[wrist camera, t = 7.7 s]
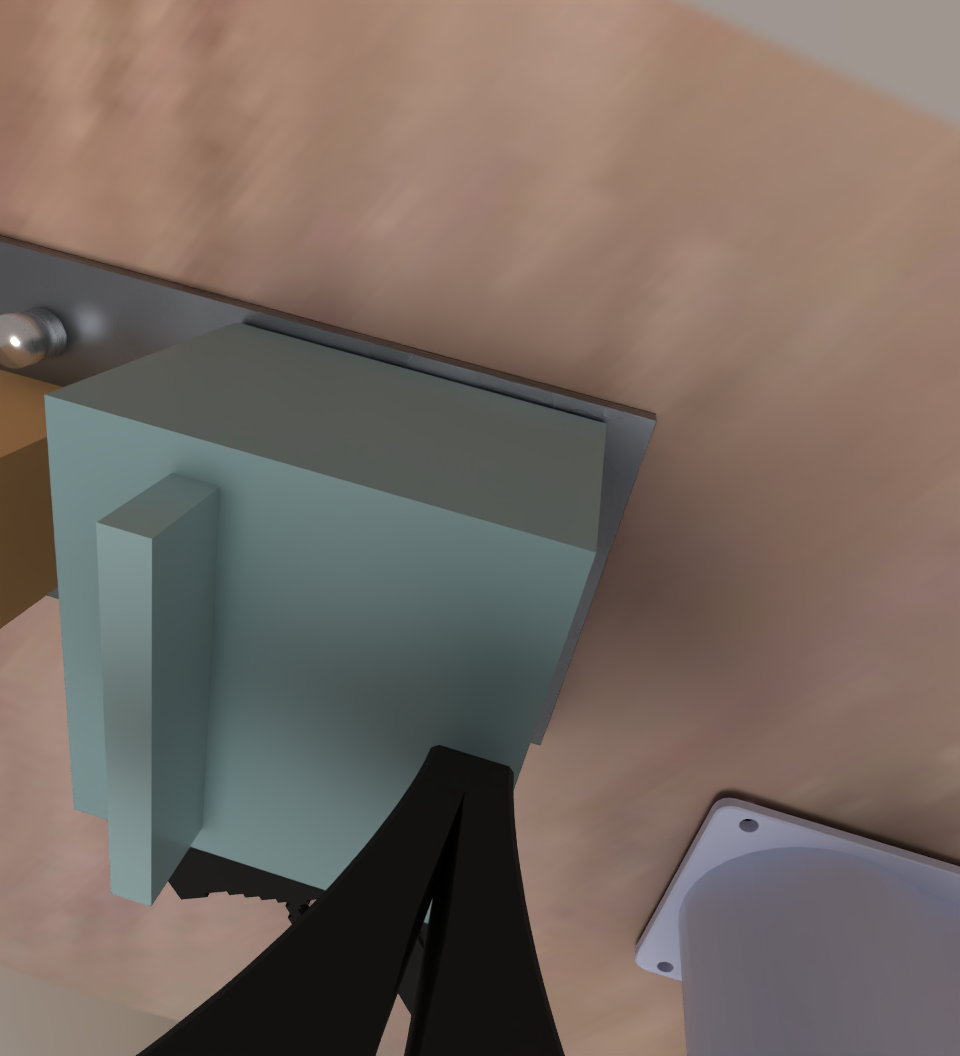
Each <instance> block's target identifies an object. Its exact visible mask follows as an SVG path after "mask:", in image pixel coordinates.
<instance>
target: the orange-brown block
mask: <svg viewBox="0 0 960 1056" xmlns="http://www.w3.org/2000/svg"><path fill="white" fill-rule="evenodd" d="M60 388H63V387H61V386H57V385H54V384H50V383H46V382H43V381H39V380H36V379H32V378H28V377H25V376H21V375H18V374H14V373H10V372H7V371H3V370H0V629H1V628H2V627H3V626H5V625H6V624H7V623H9V622H10V621H12V620H13V619H14V618H16V617H17V616H18V615H20V614H21V613H23V612H24V611H25V610H27V609H28V608H29V607H31V606H32V605H34V604H35V603H36V602H38V601H39V600H40V599H42V598H43V597H45V596H46V595H47V594H49V593H50V592H52V591H53V590H54V589H56V588H57V587H58V579H57V565H56V552H55V538H54V524H53V510H52V496H51V483H50V469H49V455H48V441H47V427H46V414H45V400H44V394H47V393H50V392H52V391H55V390H58V389H60Z"/></svg>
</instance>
